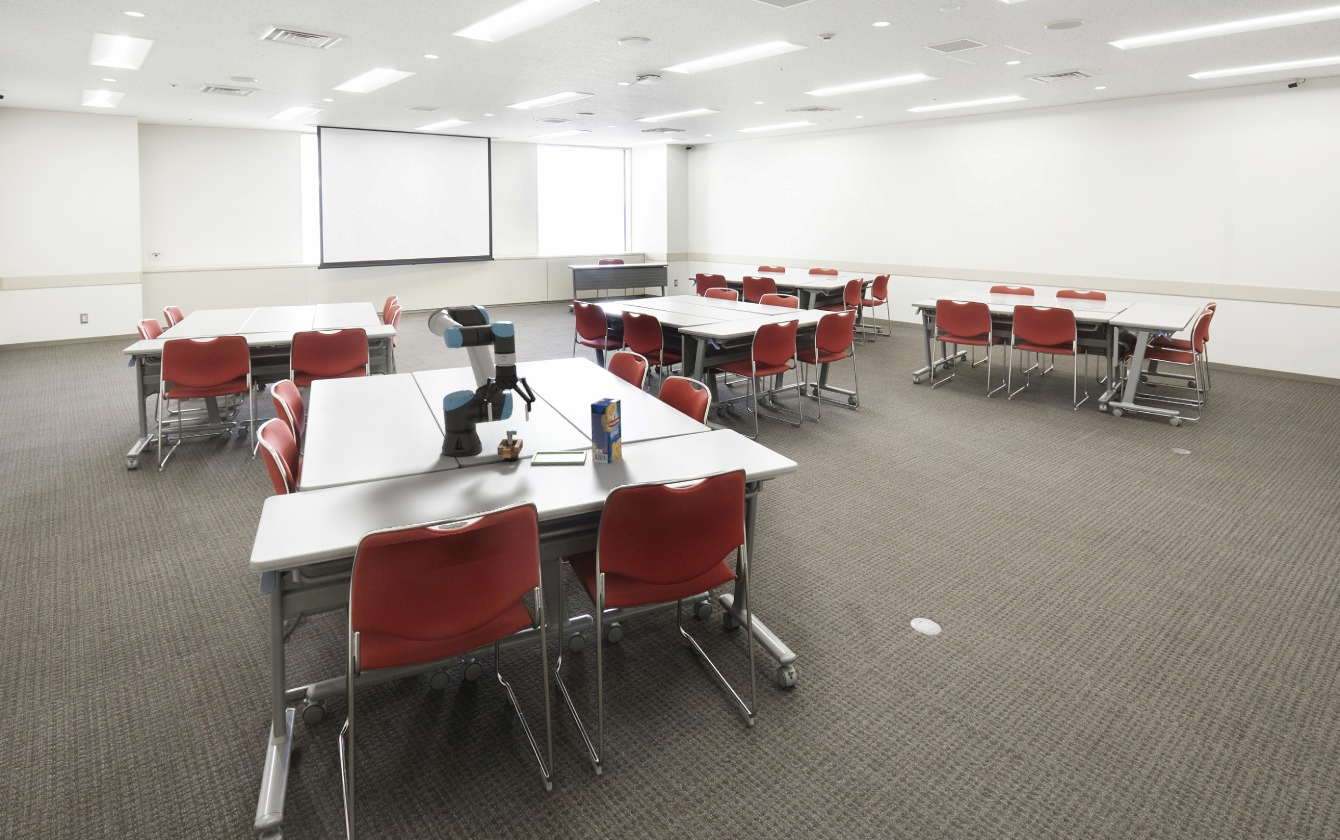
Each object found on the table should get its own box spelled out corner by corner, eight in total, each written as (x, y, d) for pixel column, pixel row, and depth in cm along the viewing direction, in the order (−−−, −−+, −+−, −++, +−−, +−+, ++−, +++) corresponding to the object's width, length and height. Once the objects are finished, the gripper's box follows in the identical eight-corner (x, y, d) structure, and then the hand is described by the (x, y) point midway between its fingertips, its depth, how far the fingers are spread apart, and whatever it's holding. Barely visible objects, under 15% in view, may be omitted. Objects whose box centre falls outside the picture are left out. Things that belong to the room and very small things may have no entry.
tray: (530, 465, 275) (530, 461, 275) (535, 454, 288) (535, 451, 287) (584, 464, 276) (584, 461, 275) (586, 453, 288) (586, 450, 288)
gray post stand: (502, 462, 278) (500, 432, 275) (504, 457, 284) (503, 428, 281) (517, 461, 279) (515, 432, 276) (519, 457, 284) (518, 428, 281)
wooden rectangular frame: (503, 446, 285) (502, 439, 285) (523, 446, 286) (522, 438, 285) (496, 457, 272) (495, 450, 271) (517, 457, 272) (516, 449, 271)
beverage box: (621, 455, 286) (620, 399, 281) (608, 463, 277) (607, 406, 271) (605, 453, 289) (604, 398, 283) (592, 461, 279) (590, 404, 274)
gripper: (468, 366, 268) (473, 423, 273) (538, 365, 268) (541, 422, 274) (473, 362, 275) (477, 418, 280) (541, 362, 276) (544, 417, 281)
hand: (509, 420), depth 277 cm, fingers open, 13 cm apart
